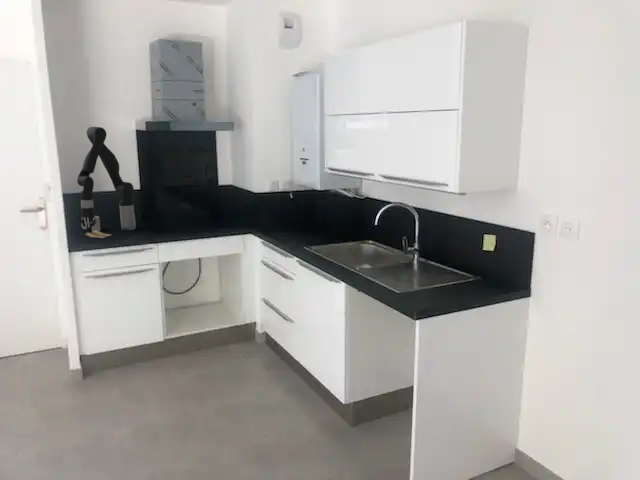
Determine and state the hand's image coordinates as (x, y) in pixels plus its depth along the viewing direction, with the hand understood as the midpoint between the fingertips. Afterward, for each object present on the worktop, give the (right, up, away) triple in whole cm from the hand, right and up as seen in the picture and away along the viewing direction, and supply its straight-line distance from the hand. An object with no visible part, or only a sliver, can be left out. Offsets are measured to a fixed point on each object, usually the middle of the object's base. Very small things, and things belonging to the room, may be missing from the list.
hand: (89, 232), depth 344 cm
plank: (+3, -2, +1) cm, 4 cm away
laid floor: (+6, -3, +1) cm, 7 cm away
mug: (-5, 0, +14) cm, 15 cm away
